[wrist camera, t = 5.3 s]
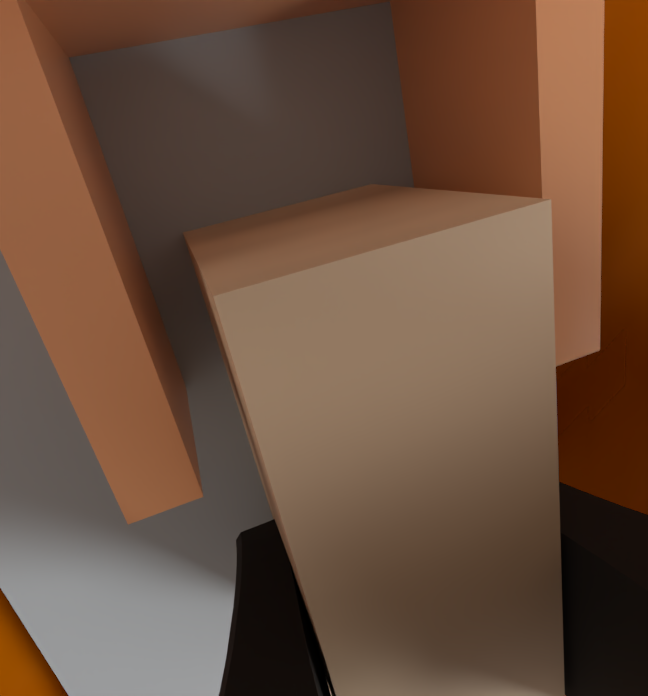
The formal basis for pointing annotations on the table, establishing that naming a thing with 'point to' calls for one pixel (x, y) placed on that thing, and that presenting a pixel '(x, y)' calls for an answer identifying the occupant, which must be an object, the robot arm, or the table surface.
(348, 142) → the board
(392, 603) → the beige rectangular block
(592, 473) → the table surface
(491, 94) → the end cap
